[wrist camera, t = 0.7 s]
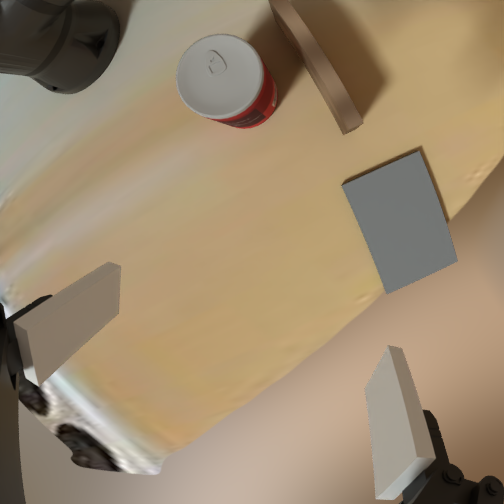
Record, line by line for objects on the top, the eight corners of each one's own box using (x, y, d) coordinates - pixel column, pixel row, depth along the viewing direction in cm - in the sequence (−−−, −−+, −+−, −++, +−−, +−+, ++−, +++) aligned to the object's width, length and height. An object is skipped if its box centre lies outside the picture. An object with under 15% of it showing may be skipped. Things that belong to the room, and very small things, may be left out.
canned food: (250, 53, 33) (224, 17, 22) (293, 102, 33) (283, 79, 23) (200, 93, 35) (158, 73, 25) (240, 142, 36) (210, 136, 26)
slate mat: (341, 185, 35) (341, 185, 34) (417, 151, 32) (419, 150, 31) (385, 291, 37) (386, 294, 37) (455, 259, 34) (457, 261, 34)
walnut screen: (276, 21, 31) (266, -5, 24) (287, 16, 30) (280, -10, 24) (343, 134, 33) (349, 129, 27) (355, 129, 33) (363, 122, 26)
